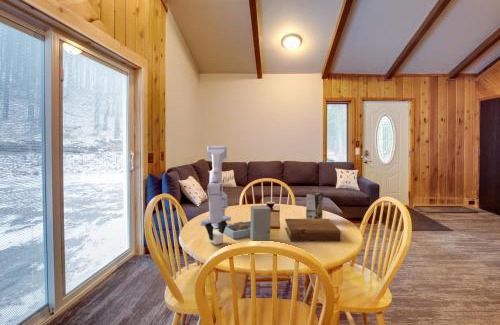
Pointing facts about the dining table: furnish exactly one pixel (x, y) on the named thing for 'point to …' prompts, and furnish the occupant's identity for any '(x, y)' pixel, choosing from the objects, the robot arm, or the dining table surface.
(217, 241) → the cream box
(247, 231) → the tote
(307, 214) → the coffee box
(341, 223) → the dining table surface
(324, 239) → the brown flat block
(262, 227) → the skincare box
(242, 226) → the walnut block
